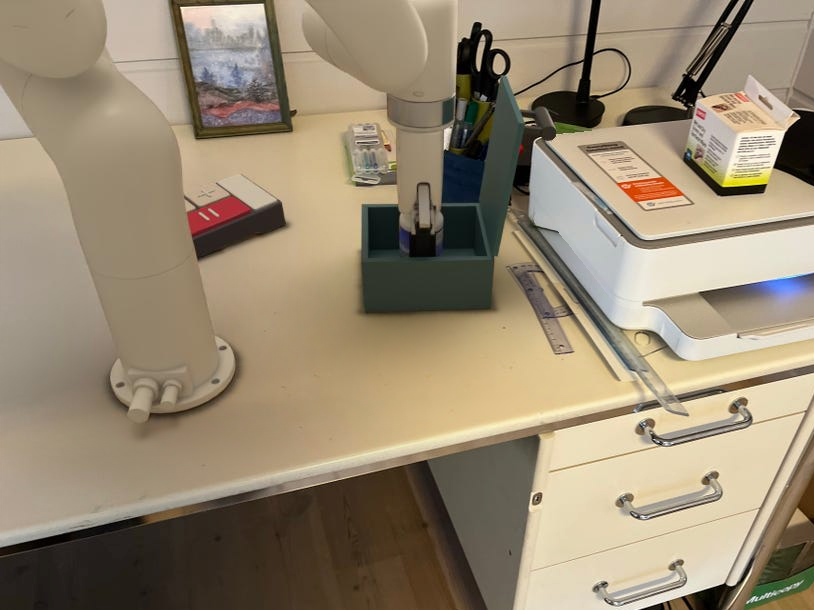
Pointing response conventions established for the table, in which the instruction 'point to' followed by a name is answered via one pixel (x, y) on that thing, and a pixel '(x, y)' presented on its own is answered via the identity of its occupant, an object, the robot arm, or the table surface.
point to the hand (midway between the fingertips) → (420, 245)
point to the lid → (506, 157)
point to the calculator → (230, 213)
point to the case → (426, 263)
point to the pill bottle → (406, 228)
